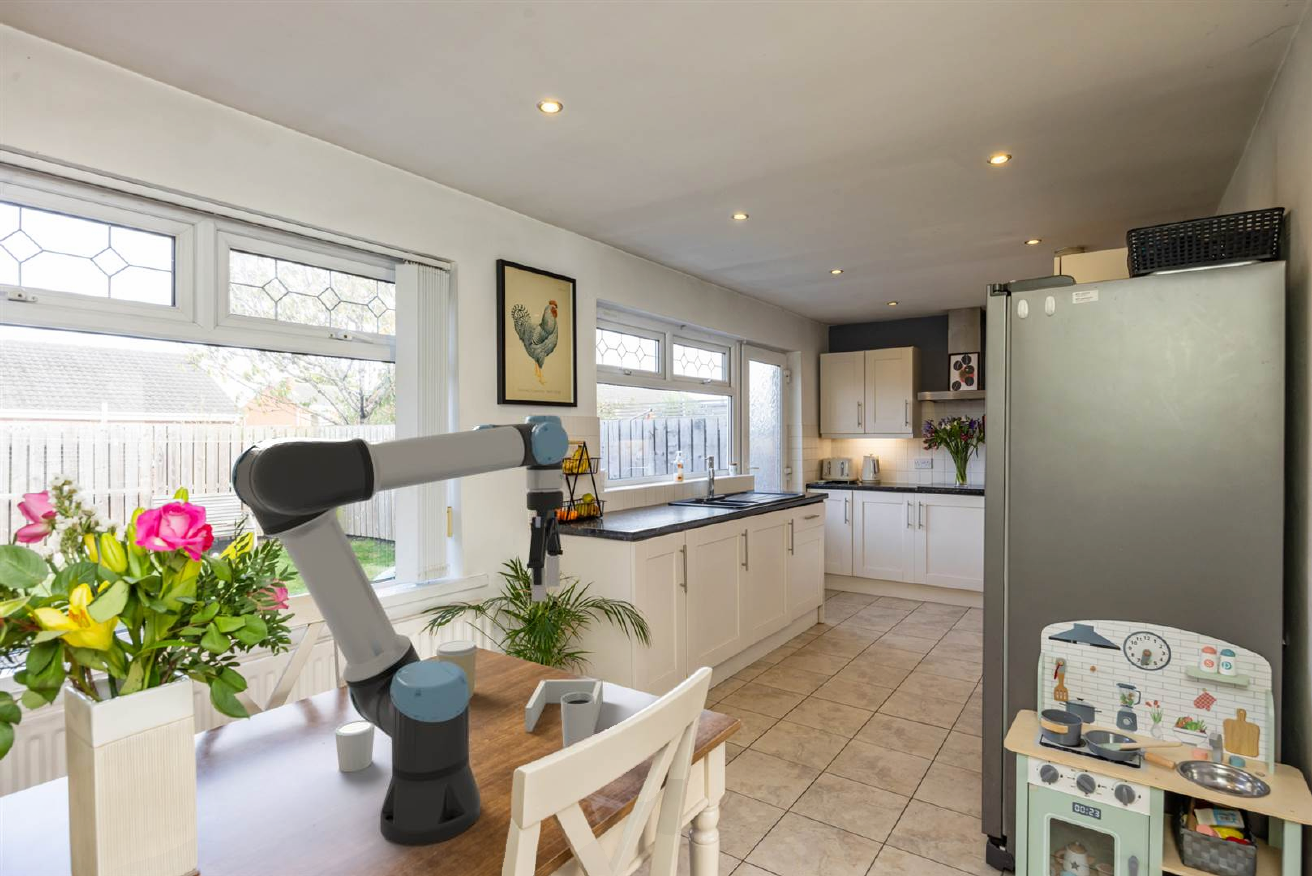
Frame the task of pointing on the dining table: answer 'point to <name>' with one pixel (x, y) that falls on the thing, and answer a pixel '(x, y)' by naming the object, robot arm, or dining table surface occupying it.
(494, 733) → the dining table surface
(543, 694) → the u-shaped frame
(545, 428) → the robot arm
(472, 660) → the coffee cup
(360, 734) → the white tapered cup
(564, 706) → the white cup
